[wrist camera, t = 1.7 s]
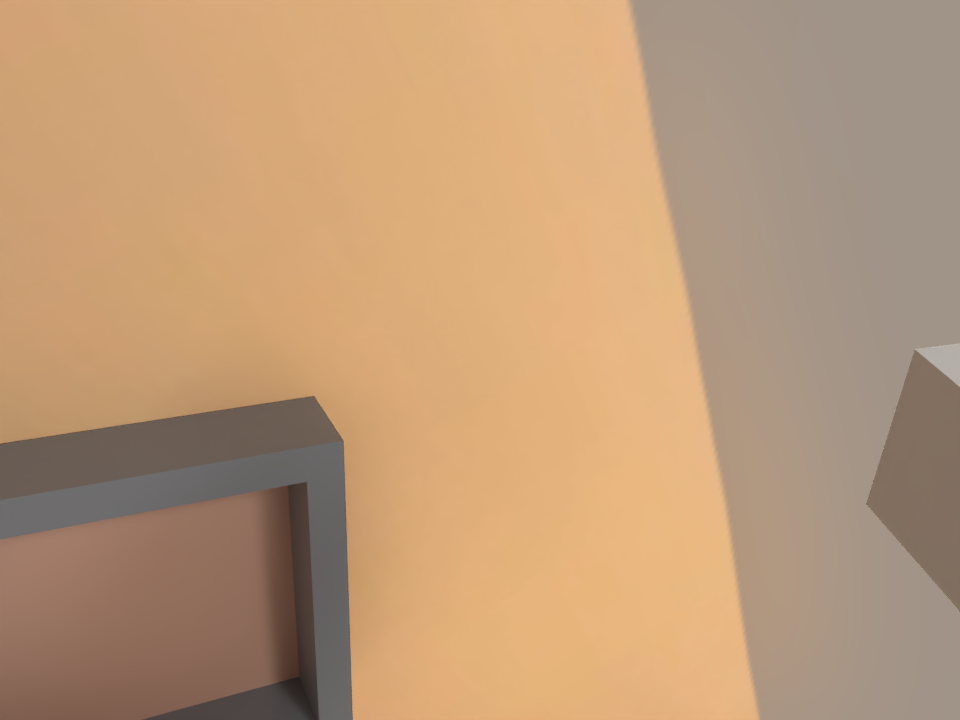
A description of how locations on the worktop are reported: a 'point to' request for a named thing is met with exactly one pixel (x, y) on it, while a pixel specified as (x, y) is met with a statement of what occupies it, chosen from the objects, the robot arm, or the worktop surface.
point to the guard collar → (177, 570)
